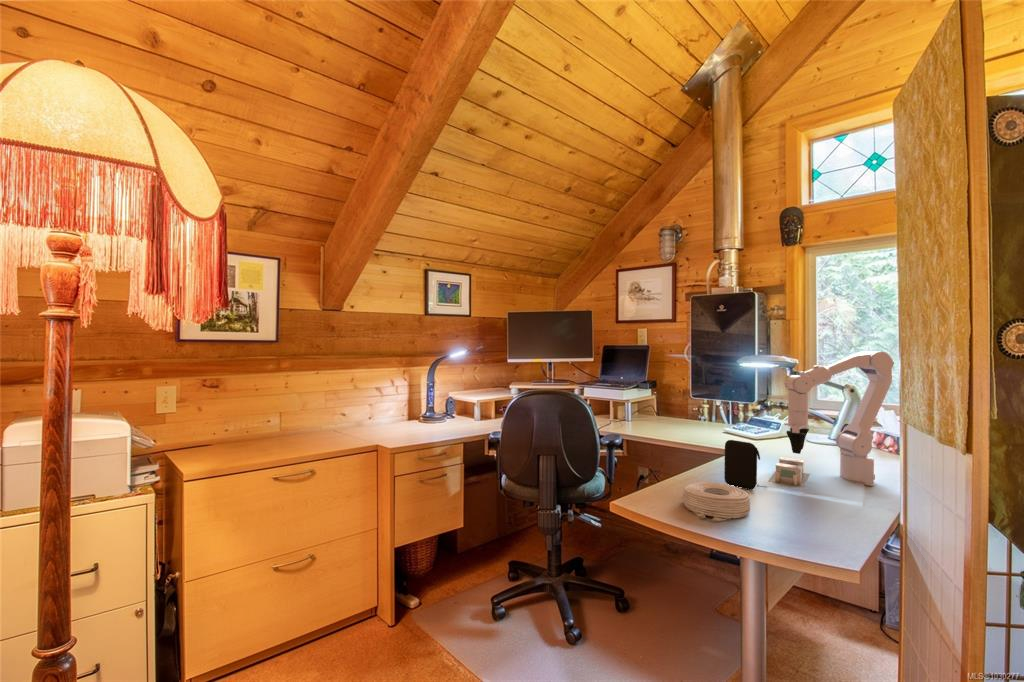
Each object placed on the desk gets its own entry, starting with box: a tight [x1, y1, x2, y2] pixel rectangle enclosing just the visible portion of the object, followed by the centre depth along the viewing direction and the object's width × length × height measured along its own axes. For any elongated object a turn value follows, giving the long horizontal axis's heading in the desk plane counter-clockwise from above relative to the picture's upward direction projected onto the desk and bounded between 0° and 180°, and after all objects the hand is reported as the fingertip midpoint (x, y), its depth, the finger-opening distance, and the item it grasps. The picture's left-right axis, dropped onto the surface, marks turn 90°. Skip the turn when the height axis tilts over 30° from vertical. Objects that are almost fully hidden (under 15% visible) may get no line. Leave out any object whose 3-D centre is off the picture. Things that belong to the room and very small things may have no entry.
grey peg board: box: [767, 470, 811, 488], centre depth 161 cm, size 10×19×4 cm, turn 143°
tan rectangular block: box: [778, 456, 805, 477], centre depth 165 cm, size 7×4×5 cm, turn 53°
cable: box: [681, 481, 751, 523], centre depth 133 cm, size 18×18×6 cm
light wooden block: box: [775, 462, 802, 485], centre depth 157 cm, size 7×4×5 cm, turn 54°
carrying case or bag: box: [723, 439, 761, 491], centre depth 152 cm, size 11×3×15 cm, turn 44°
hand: (797, 451), depth 163 cm, fingers open, 7 cm apart
